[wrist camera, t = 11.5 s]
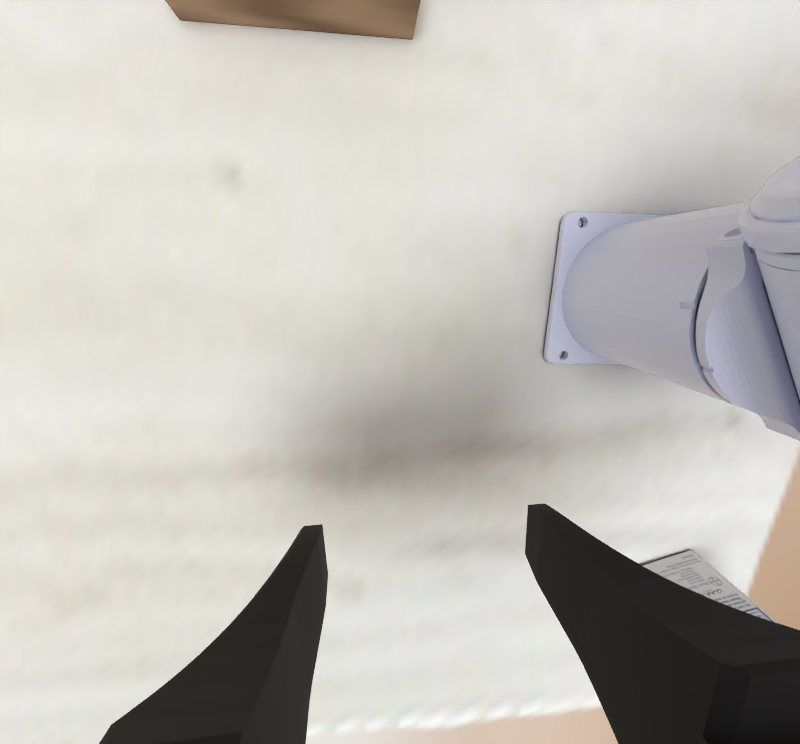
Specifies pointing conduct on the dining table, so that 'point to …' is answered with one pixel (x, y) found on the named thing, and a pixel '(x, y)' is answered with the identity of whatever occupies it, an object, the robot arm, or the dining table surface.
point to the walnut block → (308, 15)
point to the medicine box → (705, 581)
